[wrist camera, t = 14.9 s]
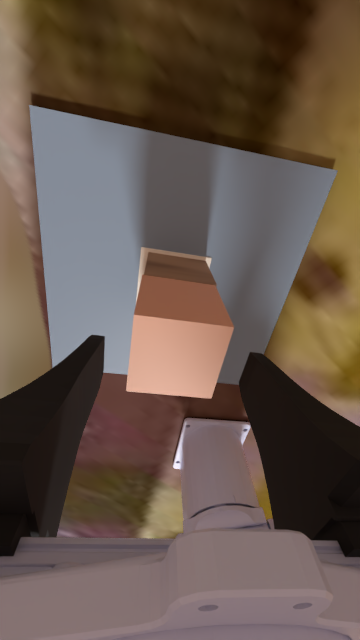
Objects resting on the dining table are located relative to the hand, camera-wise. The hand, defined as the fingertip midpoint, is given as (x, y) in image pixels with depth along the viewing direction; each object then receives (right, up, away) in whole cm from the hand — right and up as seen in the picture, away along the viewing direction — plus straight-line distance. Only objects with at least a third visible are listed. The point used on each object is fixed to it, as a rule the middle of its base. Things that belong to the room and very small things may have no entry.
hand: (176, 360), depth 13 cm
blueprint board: (-1, +5, +9) cm, 10 cm away
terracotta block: (0, +3, +4) cm, 5 cm away
